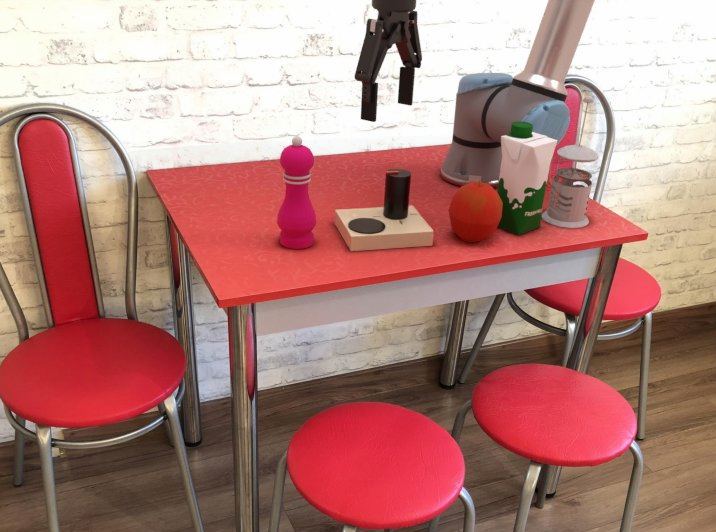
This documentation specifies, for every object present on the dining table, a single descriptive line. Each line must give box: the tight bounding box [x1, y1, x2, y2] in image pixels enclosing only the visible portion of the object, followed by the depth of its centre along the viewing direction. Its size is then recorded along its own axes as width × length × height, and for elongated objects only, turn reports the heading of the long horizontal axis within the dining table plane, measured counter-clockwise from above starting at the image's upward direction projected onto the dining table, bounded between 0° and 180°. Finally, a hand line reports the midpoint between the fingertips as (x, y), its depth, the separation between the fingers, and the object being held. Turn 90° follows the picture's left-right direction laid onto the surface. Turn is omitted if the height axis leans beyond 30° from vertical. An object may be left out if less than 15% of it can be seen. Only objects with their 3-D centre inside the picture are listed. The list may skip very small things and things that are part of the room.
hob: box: [334, 204, 435, 252], centre depth 153 cm, size 16×13×3 cm
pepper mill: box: [276, 136, 317, 250], centre depth 144 cm, size 7×7×20 cm
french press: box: [541, 95, 600, 229], centre depth 159 cm, size 10×12×25 cm
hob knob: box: [383, 168, 412, 220], centre depth 152 cm, size 5×5×9 cm
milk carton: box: [496, 122, 558, 236], centre depth 155 cm, size 9×9×20 cm
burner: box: [348, 218, 385, 234], centre depth 149 cm, size 7×7×1 cm
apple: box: [448, 181, 503, 243], centre depth 151 cm, size 10×10×12 cm
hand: (387, 112), depth 144 cm, fingers open, 13 cm apart
